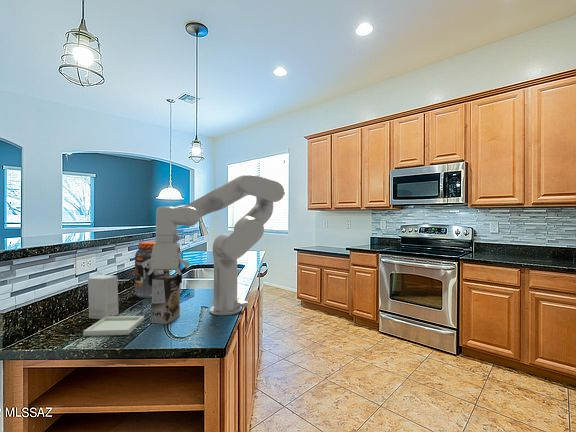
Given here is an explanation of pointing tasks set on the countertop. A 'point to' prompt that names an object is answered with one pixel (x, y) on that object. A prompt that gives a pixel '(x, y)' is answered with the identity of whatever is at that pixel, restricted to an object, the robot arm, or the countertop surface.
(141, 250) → the supplement tub
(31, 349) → the countertop surface
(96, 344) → the countertop surface
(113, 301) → the skincare box
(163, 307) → the coffee box
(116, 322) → the tray
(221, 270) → the robot arm
